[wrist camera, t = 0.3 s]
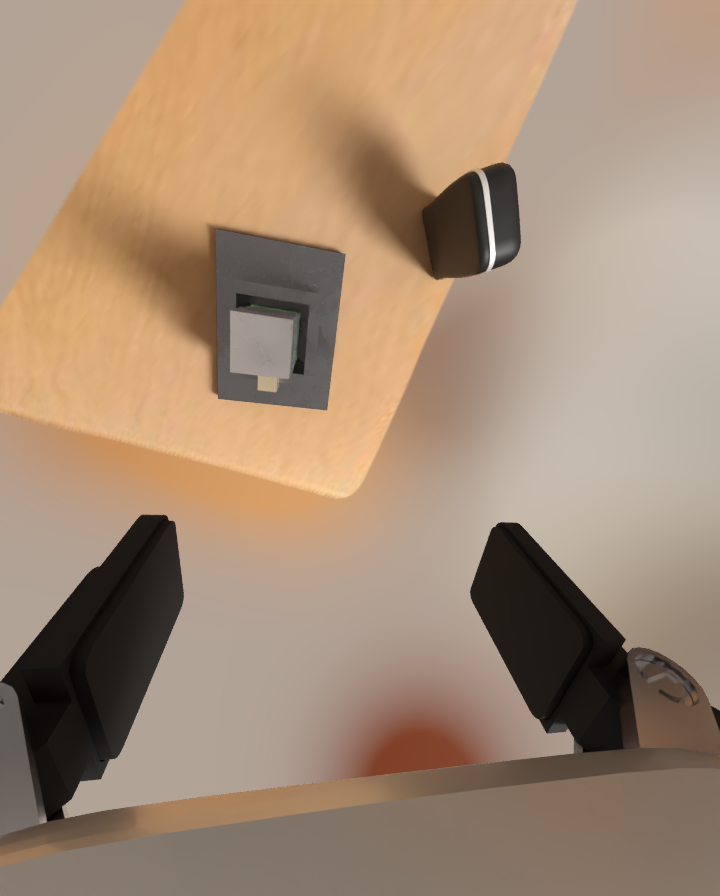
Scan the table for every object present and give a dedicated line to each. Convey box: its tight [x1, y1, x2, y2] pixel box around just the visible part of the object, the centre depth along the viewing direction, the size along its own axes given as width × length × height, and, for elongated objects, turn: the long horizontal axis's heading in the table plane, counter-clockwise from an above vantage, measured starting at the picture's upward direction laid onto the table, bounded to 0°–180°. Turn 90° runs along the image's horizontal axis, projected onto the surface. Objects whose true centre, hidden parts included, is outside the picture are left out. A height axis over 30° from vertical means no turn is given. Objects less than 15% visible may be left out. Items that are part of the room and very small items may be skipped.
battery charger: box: [422, 163, 521, 280], centre depth 29 cm, size 7×4×11 cm, turn 17°
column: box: [230, 305, 301, 379], centre depth 28 cm, size 4×4×13 cm
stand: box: [215, 229, 345, 410], centre depth 31 cm, size 16×12×9 cm
